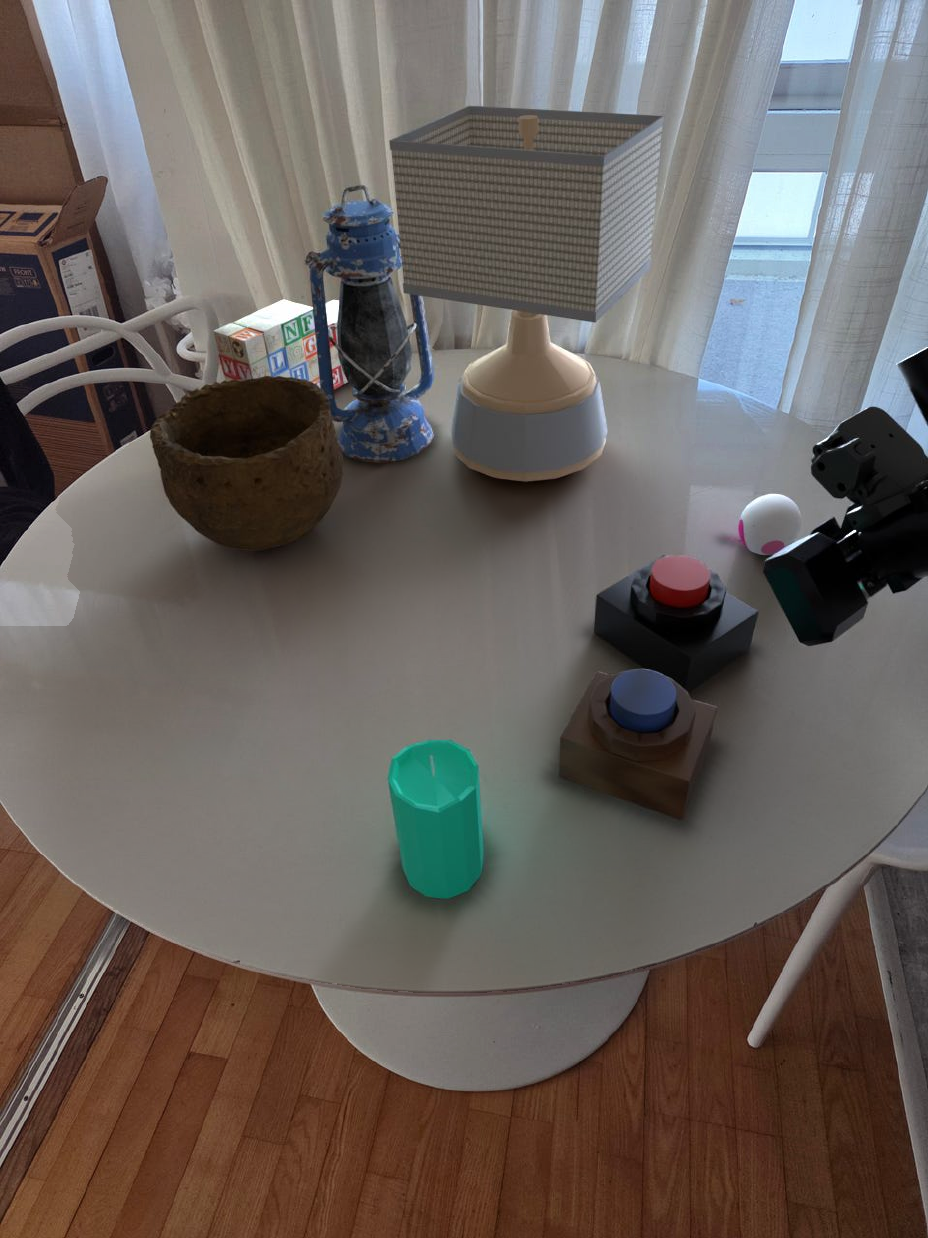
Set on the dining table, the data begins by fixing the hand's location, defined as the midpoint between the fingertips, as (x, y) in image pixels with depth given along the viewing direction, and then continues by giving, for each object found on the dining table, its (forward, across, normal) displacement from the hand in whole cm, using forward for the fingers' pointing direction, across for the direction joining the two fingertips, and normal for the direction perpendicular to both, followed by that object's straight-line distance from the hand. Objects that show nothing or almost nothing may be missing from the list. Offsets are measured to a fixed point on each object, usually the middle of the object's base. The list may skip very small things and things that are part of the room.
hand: (786, 573), depth 65 cm
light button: (+12, 0, -1) cm, 12 cm away
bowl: (+46, +20, -26) cm, 56 cm away
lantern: (+52, -2, -32) cm, 61 cm away
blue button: (+7, +13, +4) cm, 15 cm away
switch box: (+16, 0, +3) cm, 17 cm away
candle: (+13, +30, +7) cm, 34 cm away
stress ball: (+19, -18, 0) cm, 26 cm away
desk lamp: (+41, -13, -21) cm, 48 cm away
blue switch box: (+11, +13, +8) cm, 19 cm away
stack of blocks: (+65, -1, -46) cm, 79 cm away
